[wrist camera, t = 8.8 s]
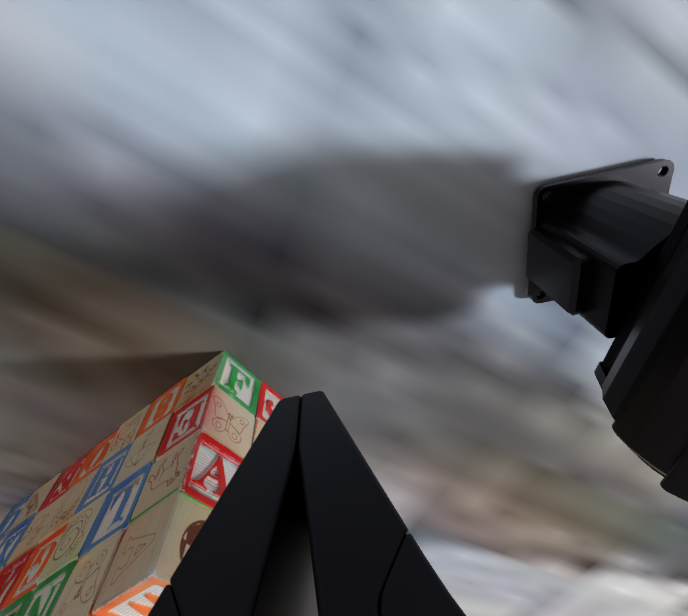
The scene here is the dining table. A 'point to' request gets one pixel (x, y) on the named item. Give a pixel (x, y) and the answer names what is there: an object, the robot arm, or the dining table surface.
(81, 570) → the stack of blocks
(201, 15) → the dining table surface
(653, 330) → the robot arm
